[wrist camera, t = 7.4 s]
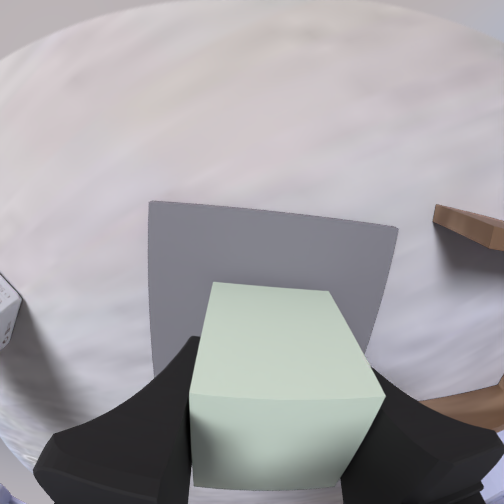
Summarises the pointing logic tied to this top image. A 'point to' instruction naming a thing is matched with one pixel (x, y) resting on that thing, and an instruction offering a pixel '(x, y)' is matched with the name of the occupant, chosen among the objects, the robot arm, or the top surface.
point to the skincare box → (7, 311)
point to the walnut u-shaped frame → (500, 396)
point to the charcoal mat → (258, 264)
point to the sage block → (277, 391)
